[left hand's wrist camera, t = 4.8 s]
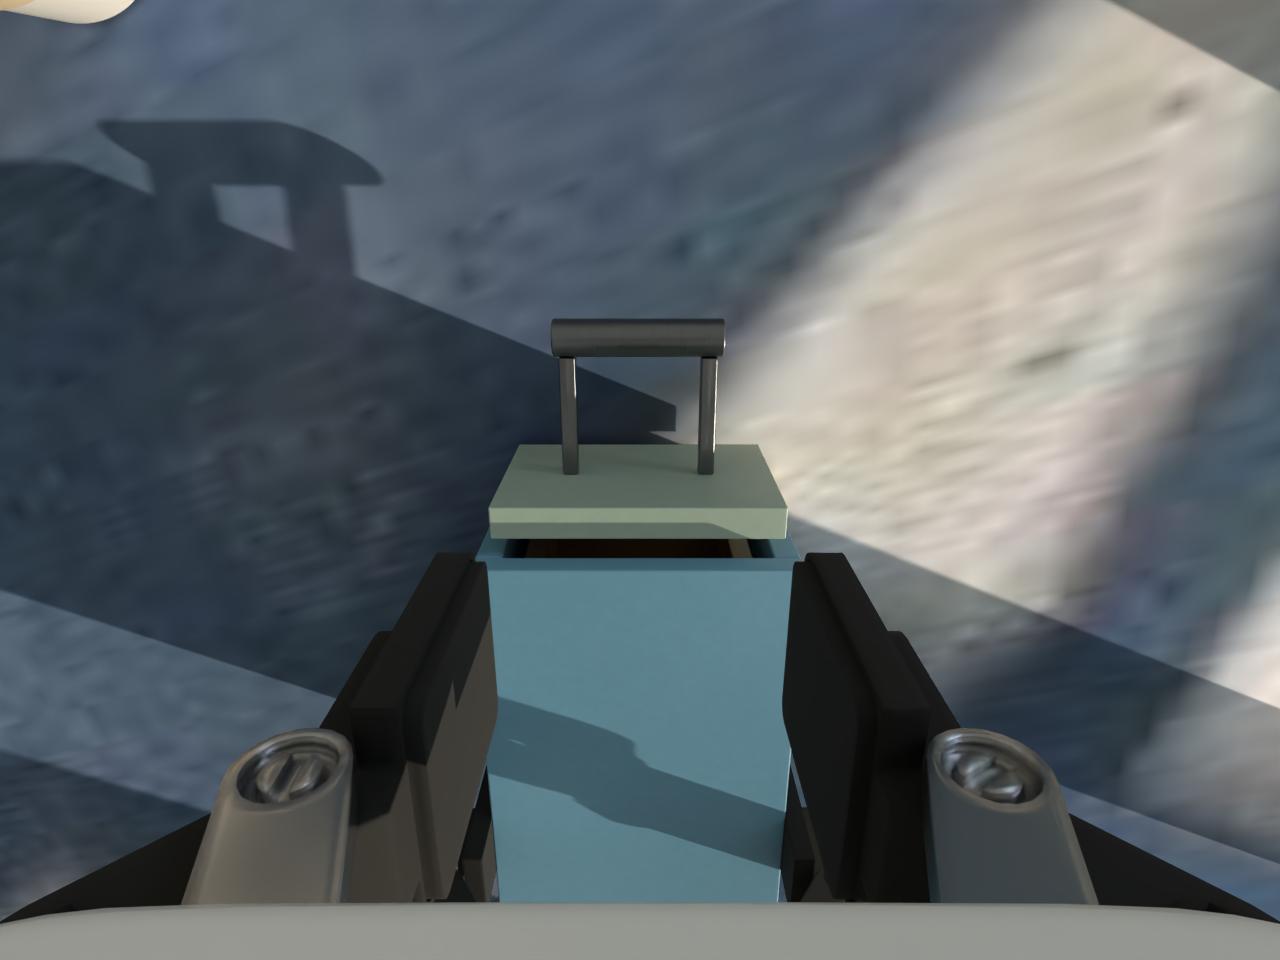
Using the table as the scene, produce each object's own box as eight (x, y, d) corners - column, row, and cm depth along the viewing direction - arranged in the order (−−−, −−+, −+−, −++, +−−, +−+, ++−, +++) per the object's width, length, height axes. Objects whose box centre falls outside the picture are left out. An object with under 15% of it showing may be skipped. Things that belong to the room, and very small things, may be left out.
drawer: (510, 305, 30) (474, 335, 24) (766, 305, 30) (801, 335, 24) (536, 726, 38) (513, 838, 31) (741, 726, 38) (763, 839, 31)
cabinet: (511, 477, 34) (468, 569, 25) (766, 477, 34) (807, 570, 25) (529, 762, 40) (499, 916, 31) (747, 762, 40) (777, 916, 31)
